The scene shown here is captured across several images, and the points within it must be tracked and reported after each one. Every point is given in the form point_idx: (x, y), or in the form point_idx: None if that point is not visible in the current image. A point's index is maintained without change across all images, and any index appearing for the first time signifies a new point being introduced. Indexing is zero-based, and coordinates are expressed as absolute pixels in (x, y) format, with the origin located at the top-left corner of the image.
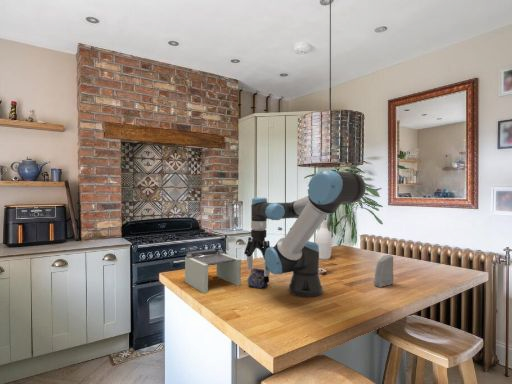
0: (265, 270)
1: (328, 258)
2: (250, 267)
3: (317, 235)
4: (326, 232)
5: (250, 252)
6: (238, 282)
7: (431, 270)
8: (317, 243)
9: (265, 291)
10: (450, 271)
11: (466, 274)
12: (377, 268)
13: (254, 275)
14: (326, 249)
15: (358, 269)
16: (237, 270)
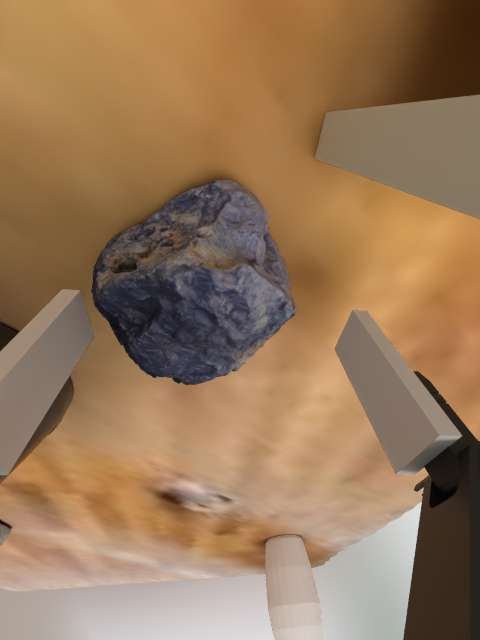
0: (24, 334)
1: (266, 542)
2: (349, 344)
3: (312, 637)
4: None
5: (455, 545)
6: (331, 129)
7: (64, 575)
8: (301, 596)
9: (56, 207)
10: (43, 581)
11: (15, 584)
12: None
13: (181, 246)
14: (271, 577)
15: (147, 538)
16: (414, 104)
